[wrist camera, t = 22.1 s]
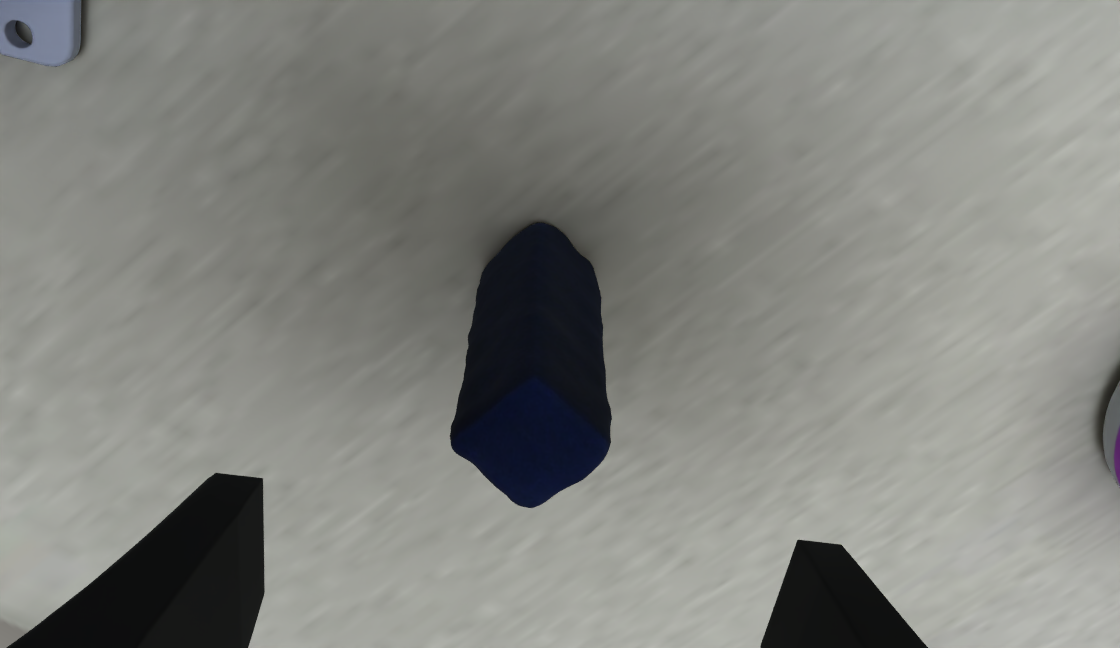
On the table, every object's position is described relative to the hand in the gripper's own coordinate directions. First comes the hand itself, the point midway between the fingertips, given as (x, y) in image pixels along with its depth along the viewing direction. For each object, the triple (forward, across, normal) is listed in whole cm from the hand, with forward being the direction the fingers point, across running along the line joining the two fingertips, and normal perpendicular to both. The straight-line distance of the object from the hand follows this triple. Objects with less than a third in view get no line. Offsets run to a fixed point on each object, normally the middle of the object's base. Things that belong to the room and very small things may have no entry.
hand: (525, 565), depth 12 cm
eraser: (+10, 0, 0) cm, 10 cm away
